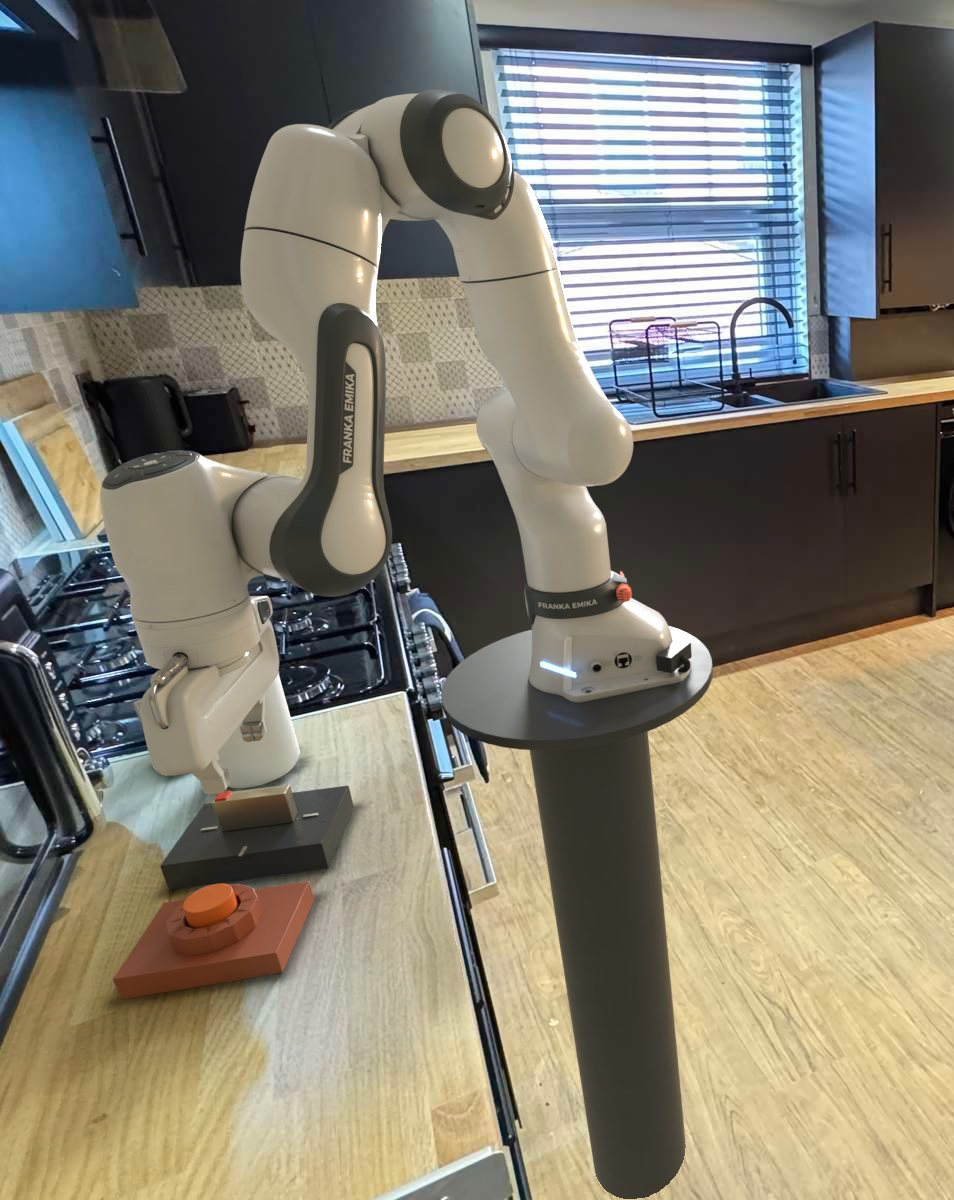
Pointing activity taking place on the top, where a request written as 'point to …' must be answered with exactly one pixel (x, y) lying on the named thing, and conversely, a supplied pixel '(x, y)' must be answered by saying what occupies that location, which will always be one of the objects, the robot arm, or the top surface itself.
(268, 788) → the beige rectangular block
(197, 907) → the button
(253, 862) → the control panel
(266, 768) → the alcohol
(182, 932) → the button block
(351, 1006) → the top surface
